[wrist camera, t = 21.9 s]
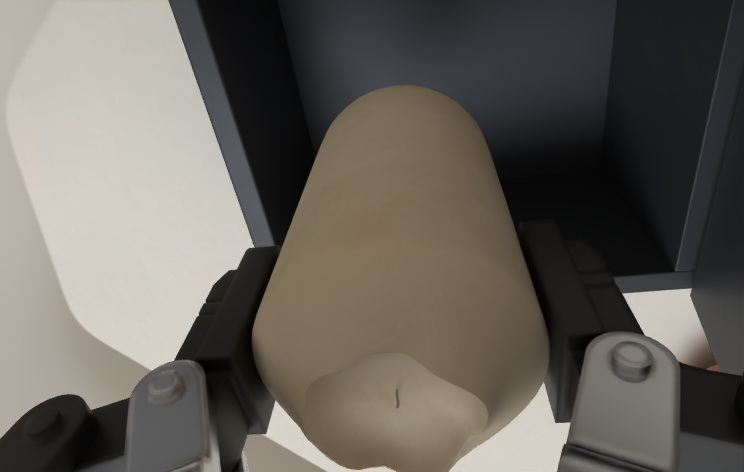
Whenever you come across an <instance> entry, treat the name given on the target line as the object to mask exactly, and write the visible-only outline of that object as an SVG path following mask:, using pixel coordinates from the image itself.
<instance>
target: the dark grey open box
mask: <svg viewBox="0 0 744 472" xmlns="http://www.w3.org/2000/svg"><path fill="white" fill-rule="evenodd" d="M169 3H170V6H171V9H172V11H173V14H174V17H175V20H176V23H177V26H178V29H179V32H180V34H181V37H182V40H183V43H184V46H185V49H186V52H187V55H188V57H189V60H190V63H191V66H192V69H193V72H194V75H195V78H196V80H197V83H198V86H199V89H200V92H201V95H202V98H203V100H204V103H205V106H206V109H207V112H208V115H209V118H210V121H211V123H212V126H213V129H214V132H215V135H216V138H217V141H218V144H219V146H220V149H221V152H222V155H223V158H224V161H225V164H226V167H227V169H228V172H229V175H230V178H231V181H232V184H233V187H234V189H235V192H236V195H237V198H238V201H239V204H240V207H241V210H242V212H243V215H244V218H245V221H246V224H247V227H248V230H249V233H250V235H251V238H252V241H253V244H254V247H255V248H256V247H267V246H277V245H278V246H280V247H281V248H282V246H283V244H284V241H285V238H286V236H287V233H288V230H289V228H290V225H291V222H292V220H293V217H294V215H295V212H296V209H297V207H298V204H299V201H300V199H301V196H302V193H303V191H304V188H305V186H306V183H307V180H308V178H309V175H310V172H311V170H312V167H313V164H314V162H315V159H316V156H317V154H318V151H319V149H320V146H321V144H322V142H323V140H324V137H325V135H326V133H327V131H328V129H329V127H330V126H331V124H332V123H333V121H334V120H335V119H336V118H337V116H338V115H339V114H340V113H341V112H342V111H343V110H344V109H345V108H346V107H347V106H349V105H350V104H351V103H352V102H354V101H355V100H357V99H358V98H360V97H361V96H363V95H365V94H368V93H370V92H372V91H375V90H378V89H381V88H385V87H391V86H401V85H409V86H419V87H424V88H429V89H432V90H434V91H437V92H440V93H442V94H444V95H446V96H448V97H450V98H451V99H453V100H454V101H455V102H457V103H458V104H460V105H461V106H462V107H463V108H464V109H465V110H466V111H467V112H468V113H469V114H470V115H471V117H472V118H473V119H474V120H475V122H476V123H477V124H478V126H479V128H480V130H481V131H482V133H483V136H484V138H485V141H486V143H487V146H488V149H489V151H490V154H491V157H492V160H493V163H494V166H495V169H496V172H497V175H498V178H499V181H500V185H501V188H502V191H503V194H504V197H505V200H506V203H507V206H508V209H509V212H510V215H511V218H512V221H513V224H514V227H515V230H516V233H517V237H518V240H519V224H520V222H530V221H540V220H550V219H554V220H555V221H556V223H557V225H558V227H559V229H560V231H561V233H562V236H563V238H564V240H576V239H582V240H584V241H585V242H587V243H588V244H589V245H591V246H592V247H593V248H595V249H596V250H597V251H599V252H600V254H601V256H602V258H603V260H604V262H605V263H606V265H607V267H608V271H610V273H611V274H612V276H613V278H614V280H615V284H616V285H618V287H619V289H620V291H621V293H634V292H647V291H661V290H674V289H688V288H692V286H693V282H694V278H695V274H696V270H697V265H698V261H699V257H700V253H701V249H702V245H703V241H704V237H705V233H706V229H707V225H708V221H709V216H710V212H711V208H712V204H713V200H714V196H715V192H716V188H717V184H718V180H719V176H720V171H721V167H722V163H723V159H724V155H725V151H726V147H727V143H728V139H729V135H730V131H731V126H732V122H733V118H734V114H735V110H736V106H737V102H738V98H739V94H740V90H741V86H742V81H743V77H744V0H169Z"/></svg>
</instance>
